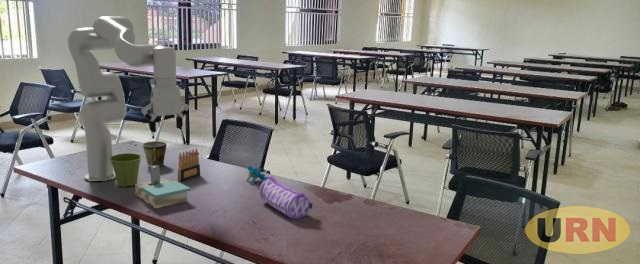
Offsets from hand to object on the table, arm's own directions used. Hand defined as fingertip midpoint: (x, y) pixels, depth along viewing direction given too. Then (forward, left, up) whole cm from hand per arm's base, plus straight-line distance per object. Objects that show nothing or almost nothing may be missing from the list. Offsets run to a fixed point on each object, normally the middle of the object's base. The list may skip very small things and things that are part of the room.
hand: (166, 130), depth 188 cm
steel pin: (-6, -2, -25) cm, 26 cm away
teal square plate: (+3, -2, -21) cm, 22 cm away
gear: (+3, +36, -26) cm, 45 cm away
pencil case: (+34, +27, -26) cm, 51 cm away
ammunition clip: (-17, +17, -26) cm, 35 cm away
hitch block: (-2, -2, -26) cm, 26 cm away
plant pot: (-24, -6, -26) cm, 36 cm away
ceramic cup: (-41, +13, -26) cm, 51 cm away
